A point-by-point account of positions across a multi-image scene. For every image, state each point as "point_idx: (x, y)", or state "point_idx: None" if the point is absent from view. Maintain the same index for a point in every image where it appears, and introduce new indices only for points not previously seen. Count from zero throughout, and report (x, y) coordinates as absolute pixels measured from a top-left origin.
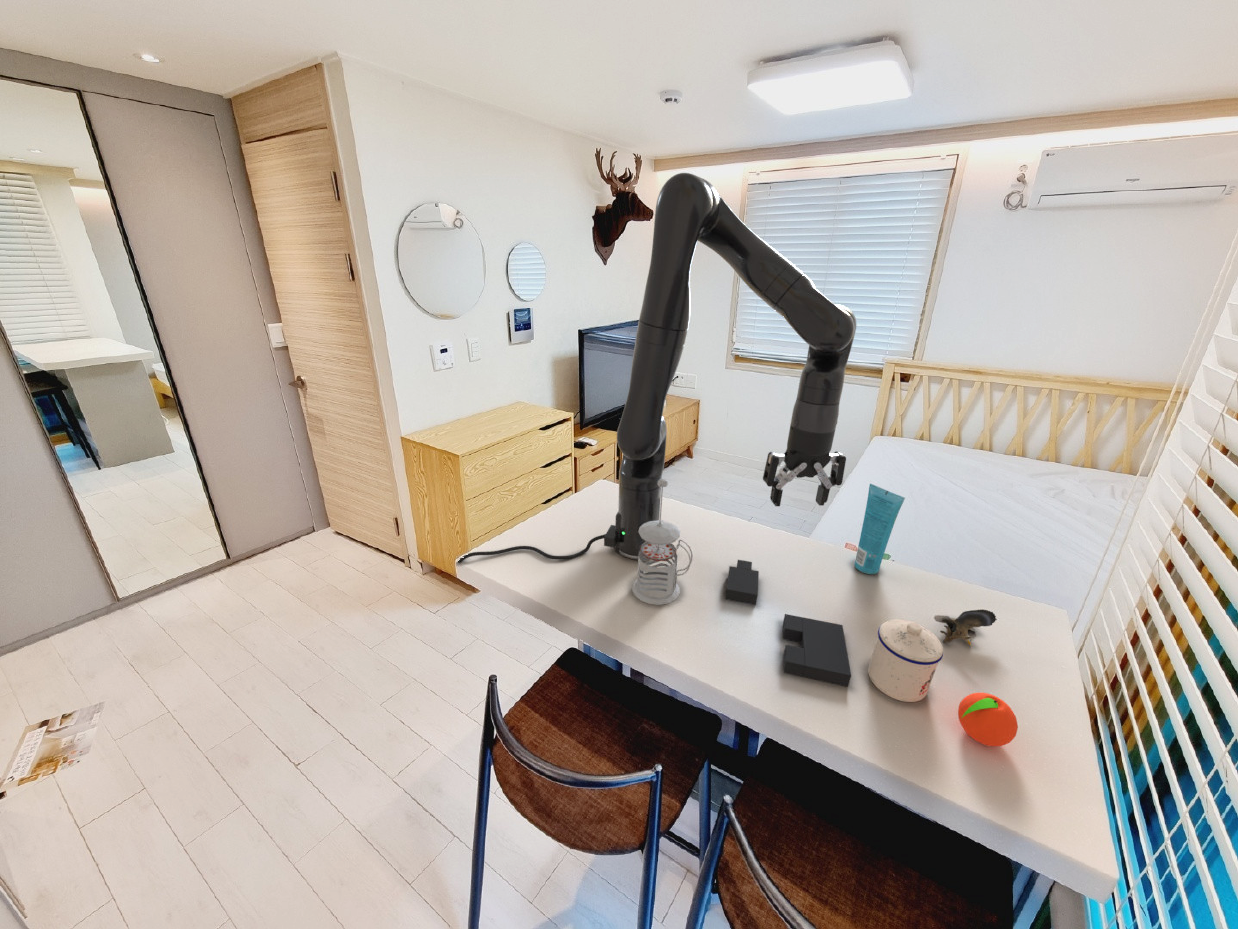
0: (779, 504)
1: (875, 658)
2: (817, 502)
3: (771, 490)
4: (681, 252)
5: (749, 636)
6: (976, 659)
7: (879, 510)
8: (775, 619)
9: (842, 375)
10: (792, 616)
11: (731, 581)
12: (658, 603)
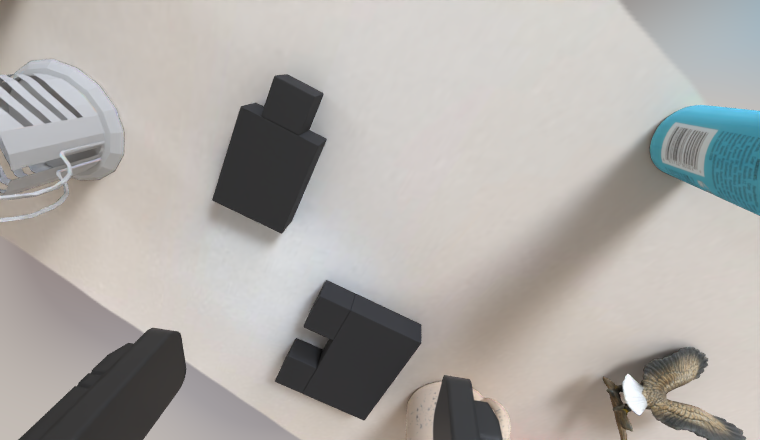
0: (171, 392)
1: (407, 437)
2: (440, 395)
3: (55, 406)
4: None
5: (252, 291)
6: None
7: None
8: (317, 265)
9: None
10: (332, 305)
11: (230, 174)
12: (76, 178)
